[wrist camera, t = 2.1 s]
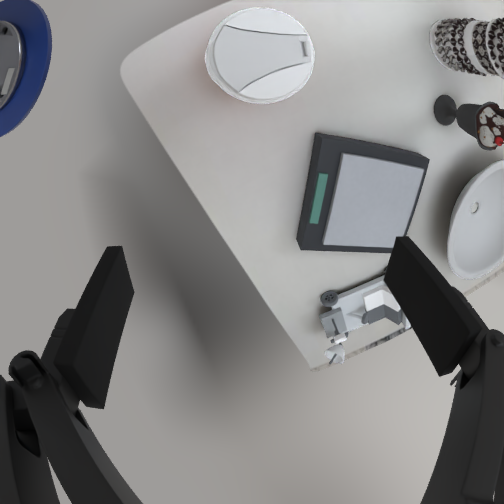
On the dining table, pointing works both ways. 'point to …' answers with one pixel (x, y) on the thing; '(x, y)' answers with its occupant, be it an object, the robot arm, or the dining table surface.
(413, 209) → the scale
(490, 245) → the white bowl
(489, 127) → the sundae
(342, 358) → the toy car
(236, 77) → the coffee cup
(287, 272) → the dining table surface
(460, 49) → the decorative candle
